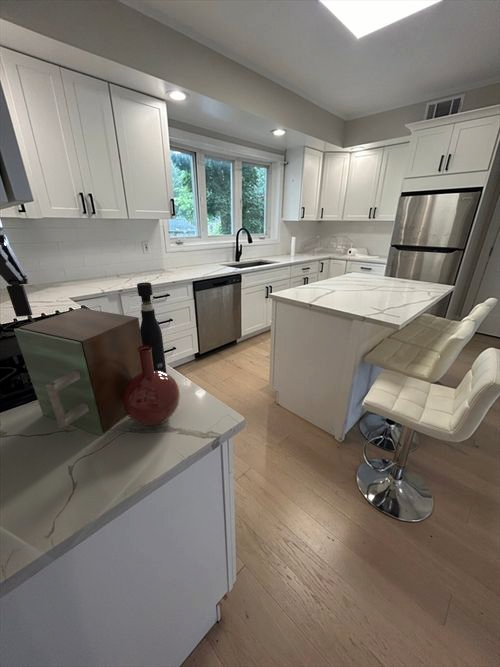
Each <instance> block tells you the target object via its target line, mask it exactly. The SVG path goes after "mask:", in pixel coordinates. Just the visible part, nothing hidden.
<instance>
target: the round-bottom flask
mask: <svg viewBox="0 0 500 667" xmlns="http://www.w3.org/2000/svg"><path fill="white" fill-rule="evenodd" d="M151 350H152V346H150V345H144V346H140V347H139V348H138V352H139V354H140V360H141V366H142V372H141V373H139V374H138V375H136V376H135V377H133V378H132V379H131V380H130V381H129V383H128V384H127V386H126V388H125V390H124V393H123V407H124V410H125V412H126V413H127V417H129V419H130V420H132V421H133V422H135V423H136V424H138V425H142V426H147V427H149V426H157V425H160V424H163V423H164V422H166V421H168V420H169V419H170V418H171V417H172V416H173V415H174V414H175V413H176V411H177V409H178V407H179V404H180V399H181V392H180V387H179V385H178V382H177V381H176V380H175V379H174V378H173V377H172V375H170V374H168V372H167V373H165V372H162V371H158V370H154V366H153V359H152V352H151Z"/></svg>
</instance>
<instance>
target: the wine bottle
mask: <svg viewBox="0 0 500 667" xmlns="http://www.w3.org/2000/svg"><path fill="white" fill-rule="evenodd" d="M136 289H137V294H138V296H139V297H140V298H141V299H140V300H141V305H140V307H141V310H140V314H141V324H140V331H141V338H142V344H143V346H144V345H150V346H152V350H151V352H152V359H153V366H154V370H158V371H162V372H165V373H167V374H168V372H167V364H166V357H165V348H164V338H163V332H162V329H161V327H160V324H159V322H158V320H157V318H156V312H155V308H154V304H153V302H152V297H151V296H153V295H154V294H153V286H152V283H151V282H138V283H137V284H136Z"/></svg>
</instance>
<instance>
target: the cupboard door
mask: <svg viewBox="0 0 500 667" xmlns="http://www.w3.org/2000/svg"><path fill="white" fill-rule="evenodd" d="M13 332H14V334H15V337H16V340H17V343H18V347H19V349H20V352H21V355H22V358H23V361H24V364H25V366H26V370H27V372H28V375H29V378H30V381H31V385H32V387H33V390H34V392H35V396H36V398H37V402H38V405H39V408H40V411H41V413H42V416H45V417H48V418H51V419H53V420H56V421H57V424H58V428H59V429H62V428H67V427H68V426H71V427H75V428H78V429H80V430H83V431H86V432H89V433H92V434H94V435H96V436H99V437H102V436H103V435H105V433H103V429H102V425H101V421H100V417H99V413H98V409H97V405H96V401H95V397H94V393H93V389H92V385H91V381H90V377H89V373H88V369H87V365H86V361H85V357H84V353H83V349H82V344H81V342H77V341H72V340H68V339H63V338H59V337H54V336H50V335H45V334H41V333H36V332H32V331H27V330H23V329H19V327H17V328H14V329H13Z"/></svg>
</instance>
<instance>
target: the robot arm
mask: <svg viewBox="0 0 500 667" xmlns="http://www.w3.org/2000/svg"><path fill="white" fill-rule="evenodd" d="M3 230H4V225H3V222H2V219H1V218H0V231H3ZM0 276H1V278H2V279H3V280H4V281H5V282H6V283H7V284H8V285H7V286H6V287H5V288H6V290H7V293H8V297H9V299H10V303H11V305H12V308H13V311H14V314H15V317H16V318H19V317H32V316H33V311H32V308H31V304H30V302H29V298H28V295H27V292H26V288H25V285H28V284H29V279H28V275H27V273H26V272H25V270H24V269H23V267H22V265H21V263H20V261H19V259H18V258H17V256H16V254H15V252H14V251H13V249H12V248H11V245H10V242H9V240H8V237H7V235H6V234H0Z"/></svg>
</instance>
